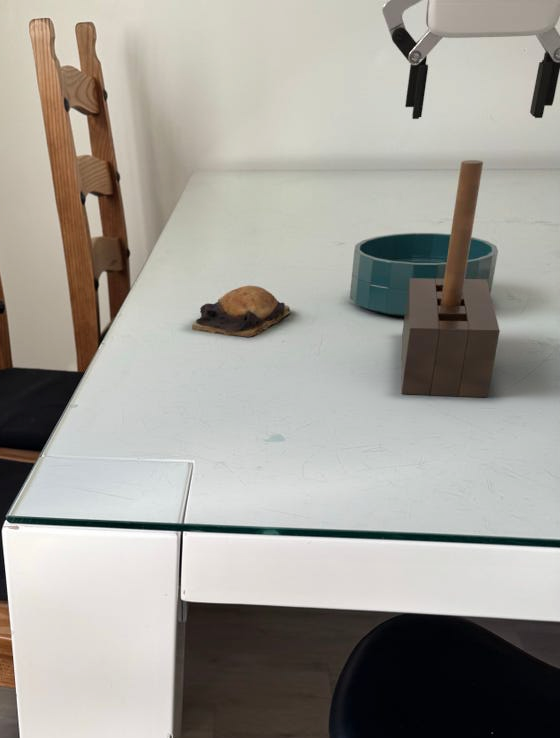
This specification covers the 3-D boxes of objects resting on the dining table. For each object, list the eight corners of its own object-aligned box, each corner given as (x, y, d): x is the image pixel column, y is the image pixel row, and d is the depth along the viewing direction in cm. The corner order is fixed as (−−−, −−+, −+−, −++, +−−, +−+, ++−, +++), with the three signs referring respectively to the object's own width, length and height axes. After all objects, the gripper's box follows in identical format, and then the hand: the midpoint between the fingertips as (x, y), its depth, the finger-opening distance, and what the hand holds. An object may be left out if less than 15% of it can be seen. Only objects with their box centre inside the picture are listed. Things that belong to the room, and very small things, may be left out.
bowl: (483, 286, 119) (492, 233, 116) (492, 323, 107) (502, 265, 104) (352, 284, 123) (357, 232, 120) (346, 319, 111) (351, 263, 107)
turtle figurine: (231, 305, 118) (232, 273, 116) (297, 314, 114) (299, 280, 112) (184, 328, 111) (184, 294, 109) (252, 338, 107) (253, 303, 105)
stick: (450, 362, 97) (482, 159, 88) (451, 368, 96) (483, 163, 86) (431, 361, 98) (460, 160, 88) (431, 367, 96) (461, 163, 86)
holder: (476, 339, 103) (486, 279, 100) (487, 397, 89) (499, 330, 86) (401, 337, 105) (409, 277, 101) (401, 394, 91) (410, 328, 88)
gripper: (632, -141, 77) (579, 110, 86) (398, -126, 81) (371, 112, 90) (652, -150, 71) (592, 121, 80) (397, -133, 75) (369, 123, 84)
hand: (475, 116), depth 85 cm, fingers open, 9 cm apart
